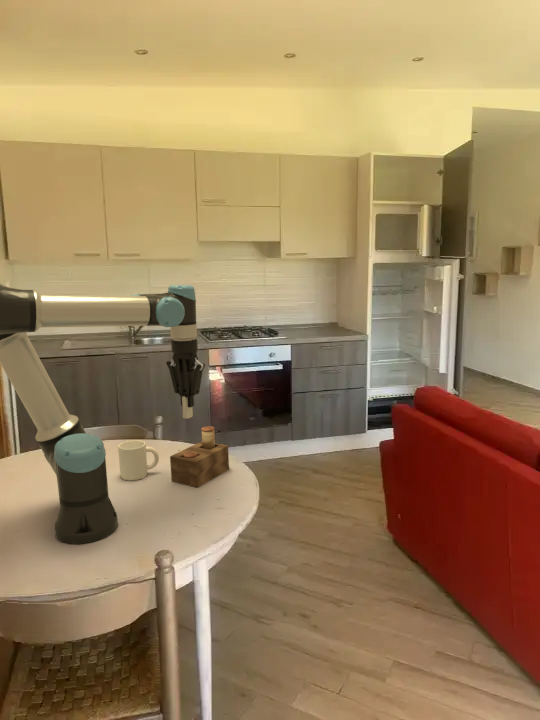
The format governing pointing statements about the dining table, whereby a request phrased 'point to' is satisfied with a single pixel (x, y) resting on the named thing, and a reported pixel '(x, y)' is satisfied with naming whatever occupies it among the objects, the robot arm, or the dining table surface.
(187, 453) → the peg near
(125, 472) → the mug
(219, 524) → the dining table surface
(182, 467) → the socket block
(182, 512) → the dining table surface
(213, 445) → the peg far
